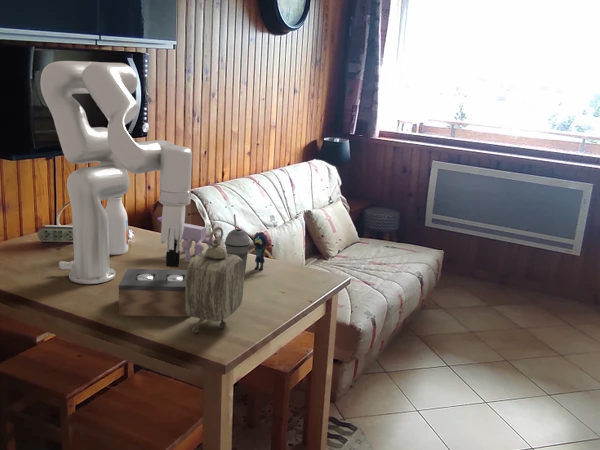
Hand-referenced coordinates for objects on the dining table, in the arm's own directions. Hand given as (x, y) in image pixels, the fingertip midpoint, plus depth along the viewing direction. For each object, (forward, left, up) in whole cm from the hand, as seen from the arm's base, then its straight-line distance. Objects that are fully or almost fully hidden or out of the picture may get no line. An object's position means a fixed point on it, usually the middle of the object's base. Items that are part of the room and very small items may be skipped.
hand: (172, 265), depth 155 cm
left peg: (-7, -1, -11) cm, 13 cm away
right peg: (+1, -1, -11) cm, 11 cm away
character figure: (+23, +29, -11) cm, 39 cm away
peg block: (-4, -1, -11) cm, 12 cm away
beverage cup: (+16, +19, -11) cm, 28 cm away
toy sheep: (-1, +40, -11) cm, 42 cm away
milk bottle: (-23, +42, -11) cm, 50 cm away
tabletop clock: (+12, -12, -11) cm, 20 cm away
